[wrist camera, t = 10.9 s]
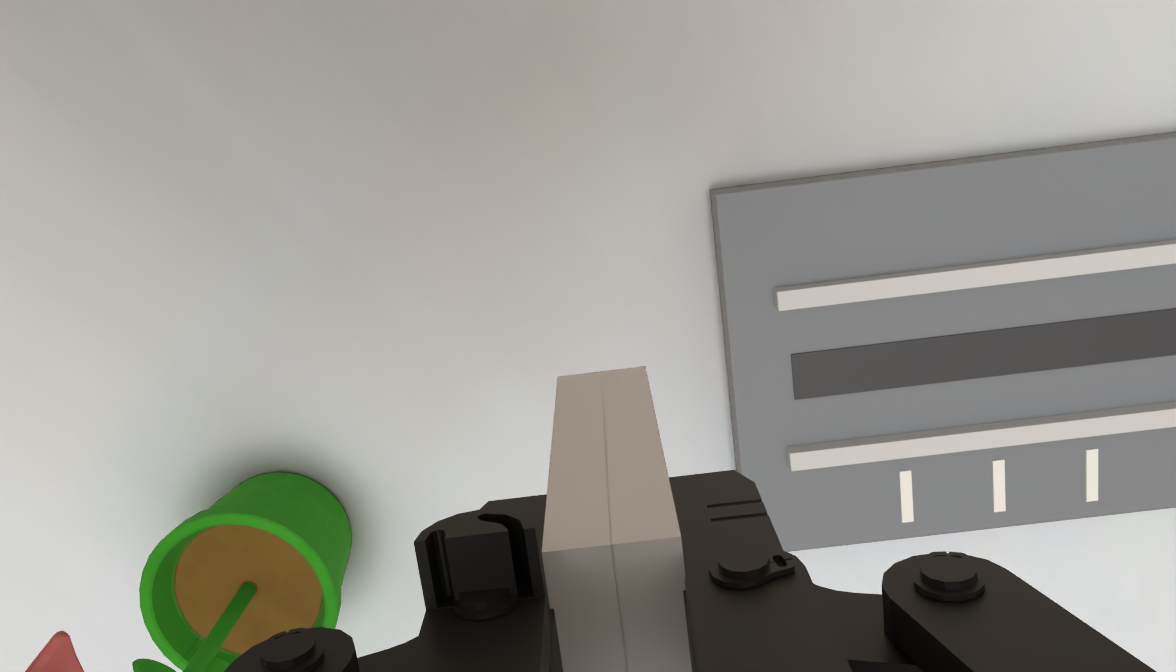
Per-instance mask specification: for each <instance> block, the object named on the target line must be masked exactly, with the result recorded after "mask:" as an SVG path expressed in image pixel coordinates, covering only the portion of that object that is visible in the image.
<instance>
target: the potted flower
mask: <svg viewBox="0 0 1176 672" xmlns="http://www.w3.org/2000/svg"><path fill="white" fill-rule="evenodd" d="M351 537H352V533H351V528H350V523H349V520H348V518H347V515H346V513H345V511H344V509H343V507H342V506H341V504H340V503H339V502H338V500H337V499H336V498H335V497H334V496H333V495H332V494H331V493H330V492H329V491H328V490H327V489H326V488H324V487H323V486H321V485H320V484H318V483H317V482H315V481H313V480H311V479H309V478H306V477H304V476H300V475H296V474H292V473H282V472H274V473H266V474H261V475H258V476H255V477H252V478H250V479H248V480H246V481H245V482H243V483H241V484H239V485H238V486H237V487H236V488H234V489H233V490H232V491H230V492H229V493H228V494H227V495H225V496H224V497H223V498H222V499H220V500H219V501H218V502H216V503H215V504H214V505H213V506H211V507H210V508H209V509H207V510H204V511H201V512H199V513H197V514H196V515H194V516H192V517H190V518H189V519H187V520H185V521H184V522H183V523H182V524H180V525H179V526H178V527H176V528H175V529H174V530H173V531H172V532H170V533H169V534H168V535H167V536H166V537H165V538H164V539H162V540H161V541H160V542H159V543H158V545H157V546H156V548H155V549H154V550H153V552H152V553H151V554H150V556H149V558H148V560H147V563H146V565H145V567H144V570H143V572H142V577H141V583H140V589H139V591H140V608H141V612H142V615H143V619H144V623H145V625H146V627H147V629H148V631H149V633H150V636H151V638H152V640H153V641H154V642H155V644H156V645H157V646H158V648H159V649H160V650H161V652H162V653H163V654H164V655H165V656H166V657H167V658H168V659H169V660H170V661H171V662H172V663H173V664H174V665H176V666H177V667H178V668H179V669H181V670H182V671H183V672H223V671H224V670H225V669H226V668H227V667H228V666H229V665H230V664H231V663H232V662H233V661H234V660H235V659H237V658H238V657H239V656H241V655H242V654H243V653H244V652H246V651H247V650H248V649H250V648H251V647H252V646H254V645H256V644H259V643H261V642H263V641H265V640H267V639H269V638H270V637H271V636H273V635H275V634H277V633H281V632H284V631H286V632H289V630H291V629H296V628H316V627H325V628H331V629H335V627H336V623H337V619H338V615H339V610H340V606H341V585H342V581H343V577H344V573H345V569H346V566H347V562H348V558H349V554H350V549H351ZM132 665H133V670H134V672H176V671H175V670H173V669H172V668H170V667H168V666H166V665H164V664H162V663H160V662H157V661H154V660H150V659H137V660H135V661H134V662H133V664H132ZM25 672H84V670H83V668H82V666H81V664H80V662H79V660H78V658H77V656H76V653H75V651H74V648H73V645H72V642H71V639H70V636H69V635H68V634H67V633H66V632H64V631H60V632H57V633H56V634H54V636H53V637H52V638H51V639H50V641H49V642H48V643H47V644H46V646H45V647H44V648H43V650H42V651H41V652H40V653H39V655H38V656H37V657H36V658H35V660H34V661H33V662H32V663H31V665H30V666H29V667H28V669H27V670H26V671H25Z"/></svg>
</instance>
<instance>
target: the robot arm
mask: <svg viewBox="0 0 1176 672" xmlns="http://www.w3.org/2000/svg"><path fill="white" fill-rule="evenodd" d="M414 546H415V551H416V557H417V563H418V568H419V574H420V579H421V585H422V590H423V596H424V601H425V607H426V613H425V616H424V619H423V623H422V626H421V630H420V633H419V636H418V637H416V638H414V639H412V640H410V641H408V642H406V643H403V644H401V645H398V646H395V647H392V648H389V649H387V650H383V651H380V652H376V653H373V654H370V655H366V656H363V657H359V658H357V655H356V650H355V646H354V643H353V639H352V637H351V636H349V635H347V634H346V633H344V632H343V631H341V630H338V629H331V628H325V627H316V628H296V629H291V630H289V632H286V631H284V632H281V633H277V634H275V635H273V636H271V637H270V638H269V639H267V640H265V641H263V642H261V643H259V644H256V645H254V646H252V647H251V648H250V649H248V650H247V651H246V652H244V653H243V654H242V655H241V656H239V657H238V658H237V659H235V660H234V661H233V662H232V663H231V664H230V665H229V666H228V667H227V668H226V669H225V670H224V671H223V672H1156V671H1155V670H1153V669H1152V668H1150V667H1149V666H1147V665H1146V664H1144V663H1143V662H1141V661H1140V660H1139V659H1137V658H1136V657H1134V656H1133V655H1131V654H1130V653H1128V652H1127V651H1125V650H1124V649H1122V648H1121V647H1120V646H1118V645H1117V644H1115V643H1114V642H1112V641H1111V640H1109V639H1108V638H1106V637H1105V636H1103V635H1102V634H1101V633H1099V632H1098V631H1096V630H1095V629H1093V628H1092V627H1090V626H1089V625H1087V624H1086V623H1084V622H1083V621H1082V620H1080V619H1079V618H1077V617H1076V616H1074V615H1073V614H1071V613H1070V612H1068V611H1067V610H1065V609H1064V608H1063V607H1061V606H1060V605H1058V604H1057V603H1055V602H1054V601H1052V600H1051V599H1049V598H1048V597H1046V596H1045V595H1044V594H1042V593H1041V592H1039V591H1038V590H1036V589H1035V588H1033V587H1032V586H1030V585H1029V584H1027V583H1026V582H1025V581H1023V580H1022V579H1020V578H1019V577H1017V576H1016V575H1014V574H1013V573H1011V572H1010V571H1008V570H1007V569H1005V568H1003V567H1001V566H999V565H997V564H995V563H993V562H991V561H989V560H986V559H982V558H977V557H973V556H969V555H966V554H964V553H958V552H949V553H946V552H932V553H930V554H925V555H918V556H912V557H910V558H907V559H905V560H902V561H899V562H897V563H895V564H893V565H892V566H891V567H890V568H889V569H888V570H887V571H886V572H885V573H884V574H883V581H882V595H880V594H863V593H851V592H843V591H836V590H832V589H828V588H824V587H820V586H817V585H815V584H813V582H812V580H811V578H810V576H809V574H808V571H807V569H806V567H805V566H804V564H803V563H802V562H801V561H800V560H799V559H798V558H797V557H796V556H794V555H792V554H790V553H788V552H785V551H783V548H782V546H781V543H780V541H779V539H778V536H777V534H776V532H775V529H774V527H773V525H772V522H771V520H770V517H769V515H768V514H767V510H766V508H765V506H764V503H763V502H762V498H761V496H760V494H759V491H758V489H757V487H756V484H755V482H753V481H752V480H750V479H748V478H747V477H745V476H743V475H742V474H740V473H738V472H737V471H735V470H729V471H721V472H712V473H704V474H695V475H687V476H678V477H668V472H667V467H666V462H665V458H664V453H663V448H662V443H661V439H660V434H659V429H658V424H657V420H656V415H655V410H654V405H653V401H652V396H651V391H650V386H649V382H648V377H647V372H646V367H645V366H643V367H635V368H626V369H618V370H610V371H601V372H593V373H585V374H576V375H568V376H560V377H558V379H557V390H556V401H555V412H554V423H553V434H552V445H551V455H550V466H549V477H548V488H547V495H538V496H530V497H521V498H512V499H504V500H495V501H488V502H487V503H486V504H485V505H484V506H483V507H482V508H481V509H480V510H476V511H471V512H466V513H460V514H457V515H454V516H451V517H448V518H446V519H443V520H440V521H438V522H436V523H434V524H433V525H431V526H430V527H428V528H426V529H425V530H423V531H422V532H421V533H420V535H419V536H418V537H417V538H416V540H415V541H414Z"/></svg>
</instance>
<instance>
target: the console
mask: <svg viewBox="0 0 1176 672" xmlns="http://www.w3.org/2000/svg"><path fill="white" fill-rule="evenodd" d="M710 194H711V204H712V215H713V226H714V237H715V247H716V258H717V269H718V280H719V290H720V301H721V312H722V323H723V333H724V344H725V355H726V365H727V376H728V387H729V398H730V408H731V419H732V430H733V441H734V451H735V462H736V471H737V472H738V473H740V474H742V475H743V476H745V477H747V478H748V479H750V480H752V481H753V482H755V484H756V487H757V489H758V491H759V494H760V496H761V498H762V502H763V503H764V506H765V508H766V510H767V514H768V515H769V517H770V520H771V522H772V525H773V527H774V529H775V532H776V534H777V536H778V539H779V541H780V543H781V546H782V548H783V551H785V552H790V551H798V550H807V549H816V548H825V547H833V546H842V545H851V544H860V543H868V542H877V541H886V540H895V539H904V538H912V537H921V536H930V535H939V534H947V533H956V532H965V531H974V530H983V529H991V528H1000V527H1009V526H1018V525H1026V524H1035V523H1044V522H1053V521H1062V520H1070V519H1079V518H1088V517H1097V516H1105V515H1114V514H1123V513H1132V512H1140V511H1149V510H1158V509H1167V508H1176V132H1171V133H1163V134H1155V135H1147V136H1138V137H1130V138H1122V139H1114V140H1106V141H1098V142H1090V143H1082V144H1074V145H1066V146H1058V147H1050V148H1042V149H1034V150H1026V151H1018V152H1010V153H1001V154H993V155H985V156H977V157H969V158H961V159H953V160H945V161H937V162H929V163H921V164H913V165H905V166H897V167H889V168H881V169H873V170H864V171H856V172H848V173H840V174H832V175H824V176H816V177H808V178H800V179H792V180H784V181H776V182H768V183H760V184H752V185H744V186H736V187H728V188H719V189H711V190H710Z"/></svg>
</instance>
